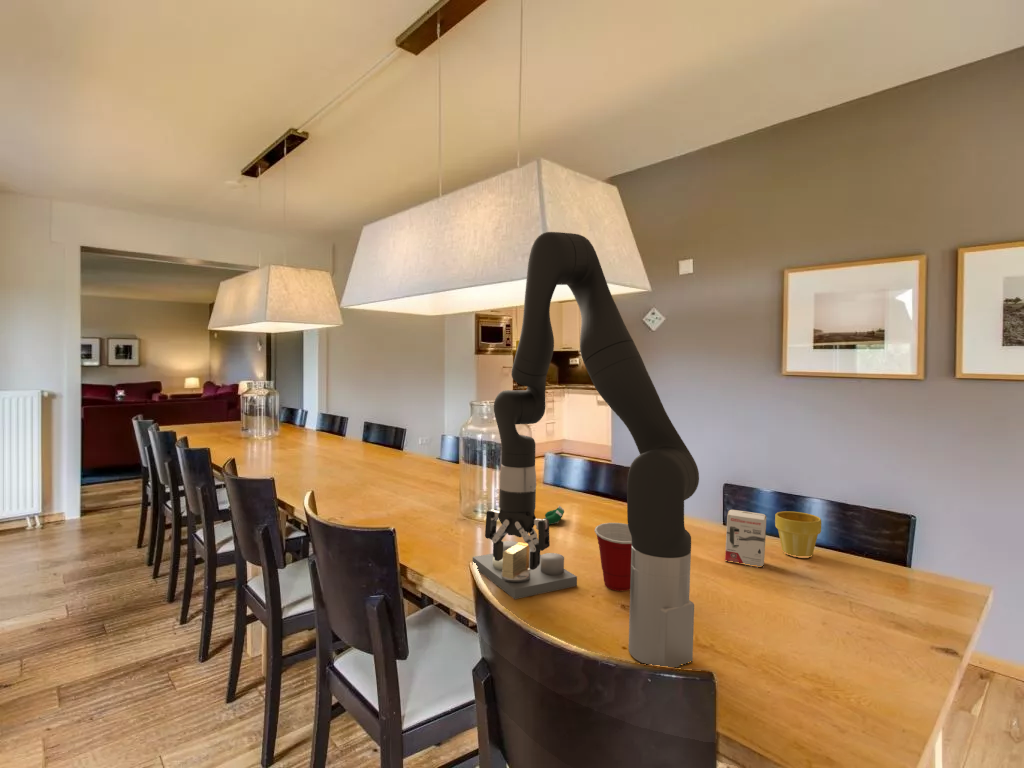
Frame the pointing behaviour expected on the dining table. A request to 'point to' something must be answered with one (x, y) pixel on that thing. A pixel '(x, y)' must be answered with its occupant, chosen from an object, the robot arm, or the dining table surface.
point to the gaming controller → (554, 515)
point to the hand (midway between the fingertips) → (516, 564)
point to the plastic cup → (615, 554)
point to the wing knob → (516, 563)
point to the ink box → (745, 537)
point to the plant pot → (797, 532)
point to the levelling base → (541, 579)
